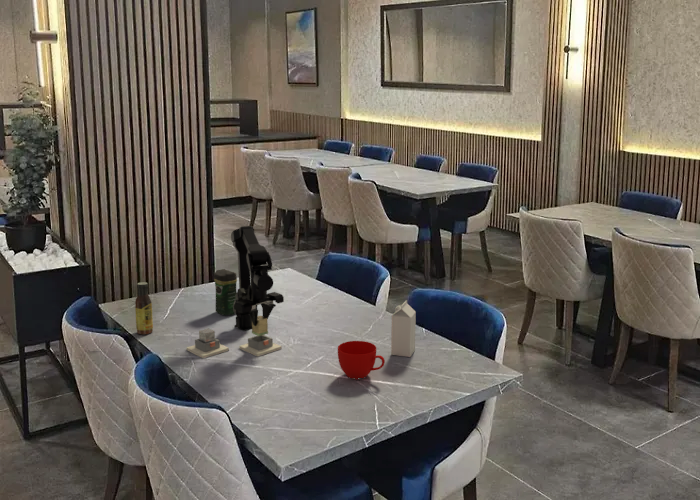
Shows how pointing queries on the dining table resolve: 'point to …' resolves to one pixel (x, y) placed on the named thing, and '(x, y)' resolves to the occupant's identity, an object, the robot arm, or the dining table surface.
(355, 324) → the dining table surface
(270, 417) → the dining table surface
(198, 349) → the stand
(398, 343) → the milk carton
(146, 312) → the sauce bottle
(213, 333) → the column
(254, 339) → the stand
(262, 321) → the column
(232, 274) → the coffee jar
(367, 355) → the ceramic cup
